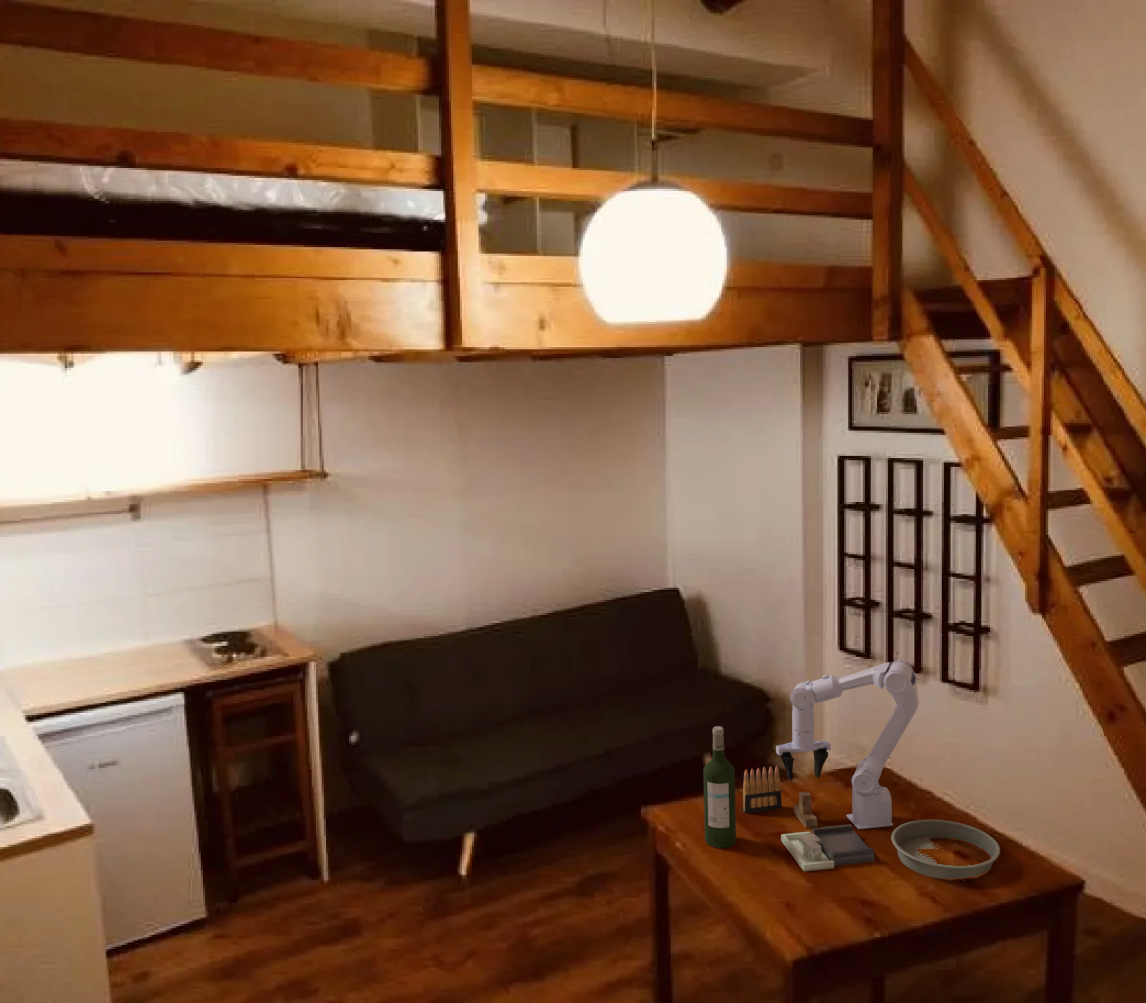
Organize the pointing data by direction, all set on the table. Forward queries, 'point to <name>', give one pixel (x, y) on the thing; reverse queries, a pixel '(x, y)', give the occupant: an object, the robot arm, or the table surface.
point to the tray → (798, 853)
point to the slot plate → (843, 845)
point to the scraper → (805, 810)
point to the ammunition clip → (761, 791)
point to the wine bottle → (719, 796)
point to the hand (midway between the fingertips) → (803, 777)
